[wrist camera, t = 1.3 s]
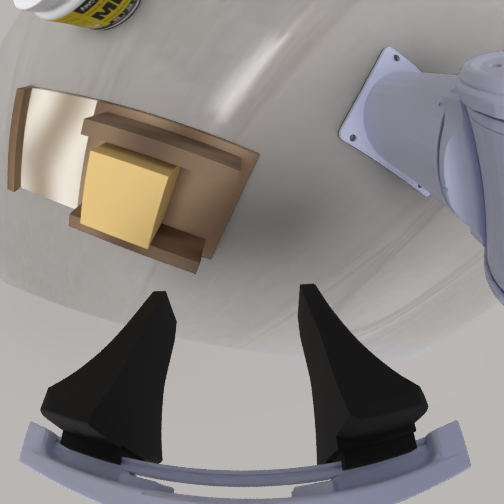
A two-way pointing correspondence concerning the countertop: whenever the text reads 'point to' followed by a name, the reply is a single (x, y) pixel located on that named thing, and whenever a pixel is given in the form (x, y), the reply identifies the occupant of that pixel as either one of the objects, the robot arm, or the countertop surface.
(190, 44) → the countertop surface
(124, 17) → the supplement bottle
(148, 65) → the countertop surface
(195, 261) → the walnut chute
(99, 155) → the ochre block
